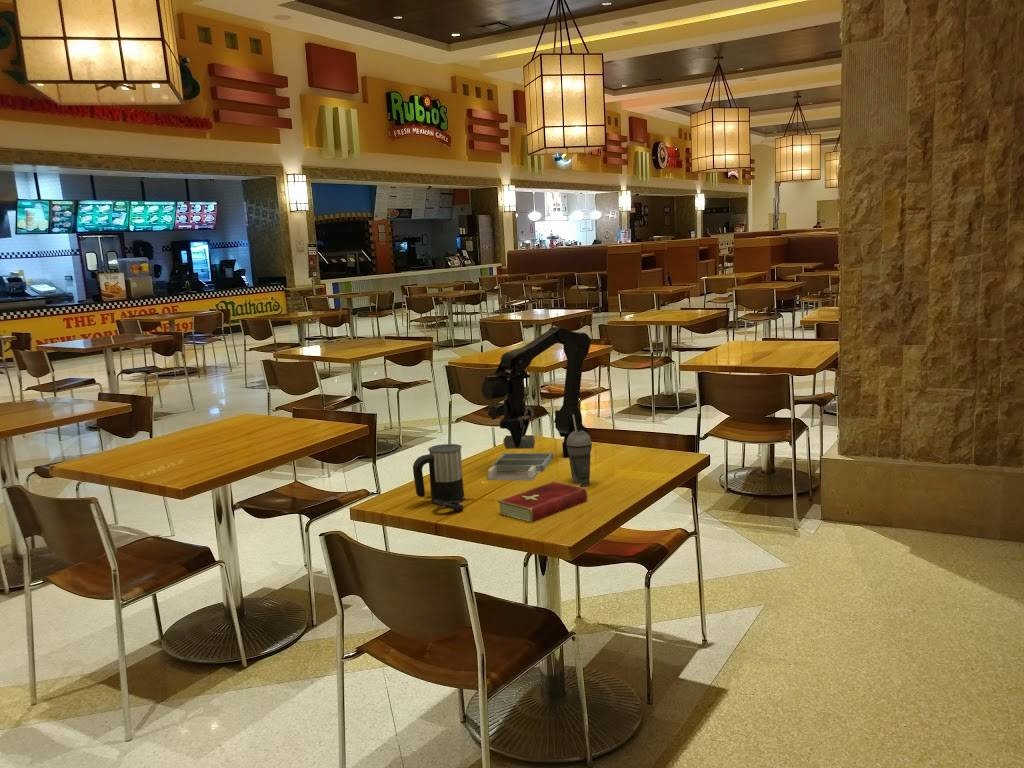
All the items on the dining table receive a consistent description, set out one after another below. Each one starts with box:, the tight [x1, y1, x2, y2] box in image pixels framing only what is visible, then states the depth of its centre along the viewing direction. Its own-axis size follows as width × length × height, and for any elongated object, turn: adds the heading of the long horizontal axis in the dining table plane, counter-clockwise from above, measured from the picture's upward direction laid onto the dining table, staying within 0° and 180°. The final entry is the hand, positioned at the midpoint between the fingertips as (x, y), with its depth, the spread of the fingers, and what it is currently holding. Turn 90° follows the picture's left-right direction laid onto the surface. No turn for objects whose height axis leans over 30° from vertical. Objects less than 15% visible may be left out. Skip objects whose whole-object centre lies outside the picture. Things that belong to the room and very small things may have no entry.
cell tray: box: [490, 452, 554, 472], centre depth 255 cm, size 16×15×2 cm
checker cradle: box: [485, 466, 539, 481], centre depth 242 cm, size 14×8×3 cm, turn 76°
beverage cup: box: [566, 415, 593, 487], centre depth 231 cm, size 7×7×20 cm
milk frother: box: [412, 443, 466, 512], centre depth 221 cm, size 14×16×15 cm
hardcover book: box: [496, 480, 588, 523], centre depth 214 cm, size 12×21×4 cm, turn 134°
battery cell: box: [502, 434, 536, 450], centre depth 250 cm, size 9×4×4 cm, turn 76°
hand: (519, 445), depth 250 cm, fingers closed on battery cell, 4 cm apart
